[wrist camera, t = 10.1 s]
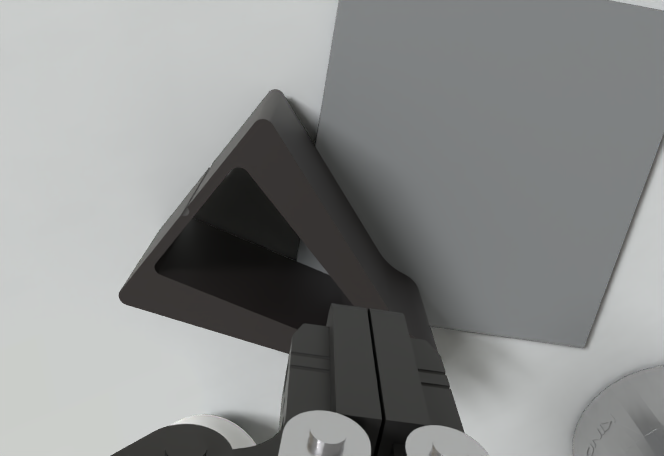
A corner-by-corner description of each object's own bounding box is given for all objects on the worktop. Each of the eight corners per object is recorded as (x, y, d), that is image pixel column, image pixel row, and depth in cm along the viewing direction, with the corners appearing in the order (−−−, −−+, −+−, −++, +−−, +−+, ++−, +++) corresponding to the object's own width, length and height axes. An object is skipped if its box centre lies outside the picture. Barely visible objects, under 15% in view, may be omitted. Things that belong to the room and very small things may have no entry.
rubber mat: (698, 17, 26) (706, 18, 26) (579, 341, 32) (583, 348, 31) (346, -48, 25) (347, -49, 24) (289, 300, 31) (289, 306, 30)
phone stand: (261, 113, 21) (511, 314, 24) (274, 85, 26) (475, 250, 29) (114, 298, 23) (357, 458, 26) (154, 237, 29) (350, 375, 32)
